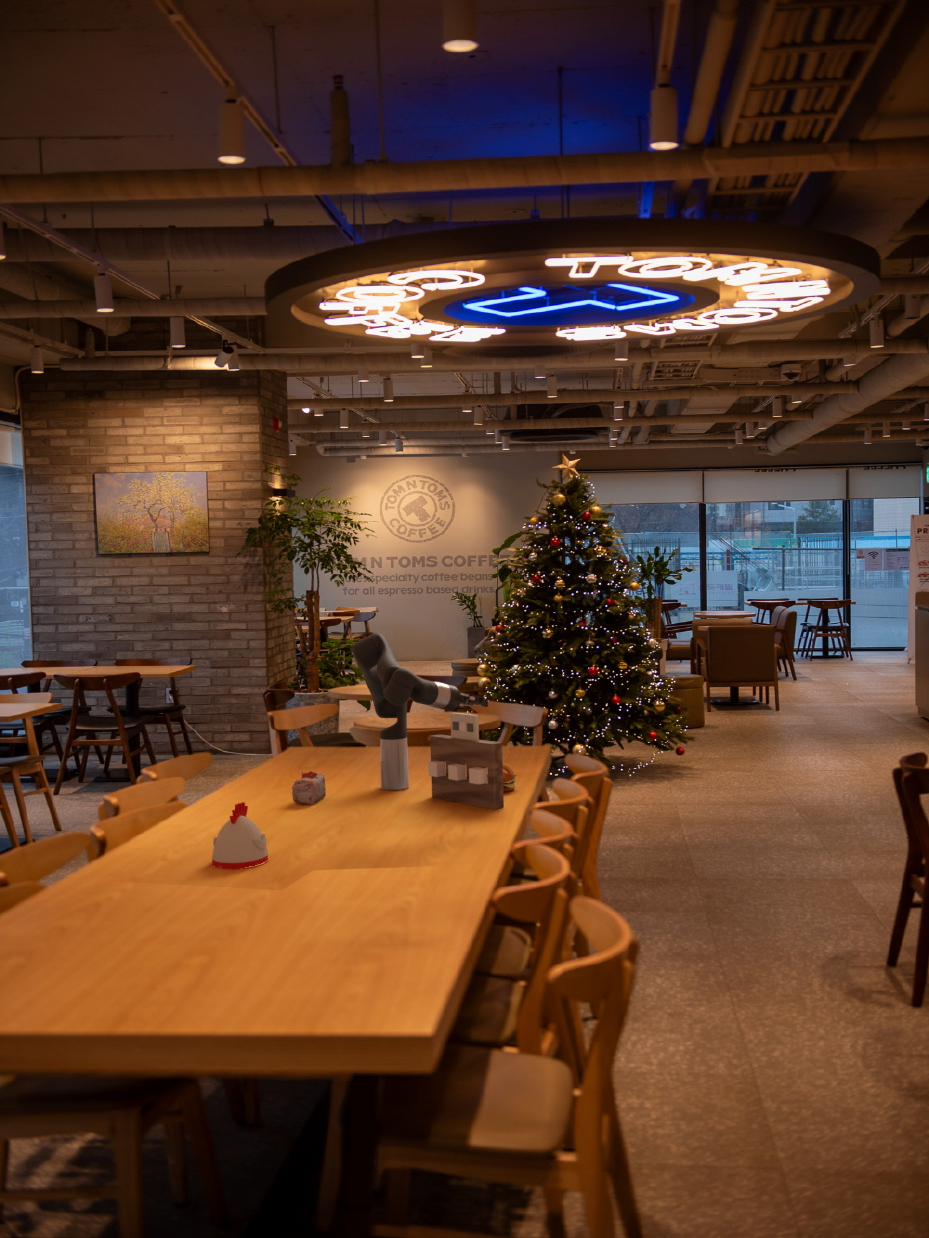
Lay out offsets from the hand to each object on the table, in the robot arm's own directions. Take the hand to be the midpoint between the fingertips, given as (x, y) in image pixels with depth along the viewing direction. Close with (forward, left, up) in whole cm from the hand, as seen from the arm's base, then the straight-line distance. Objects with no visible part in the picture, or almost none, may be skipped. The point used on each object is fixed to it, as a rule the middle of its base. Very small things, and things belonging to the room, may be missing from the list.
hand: (476, 704), depth 325 cm
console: (-4, +14, -33) cm, 36 cm away
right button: (0, +4, -25) cm, 25 cm away
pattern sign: (-4, +14, -13) cm, 19 cm away
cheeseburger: (+8, +32, -33) cm, 47 cm away
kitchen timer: (-63, -53, -33) cm, 88 cm away
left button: (-13, +20, -25) cm, 34 cm away
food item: (-55, +23, -33) cm, 68 cm away
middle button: (-7, +12, -25) cm, 28 cm away
